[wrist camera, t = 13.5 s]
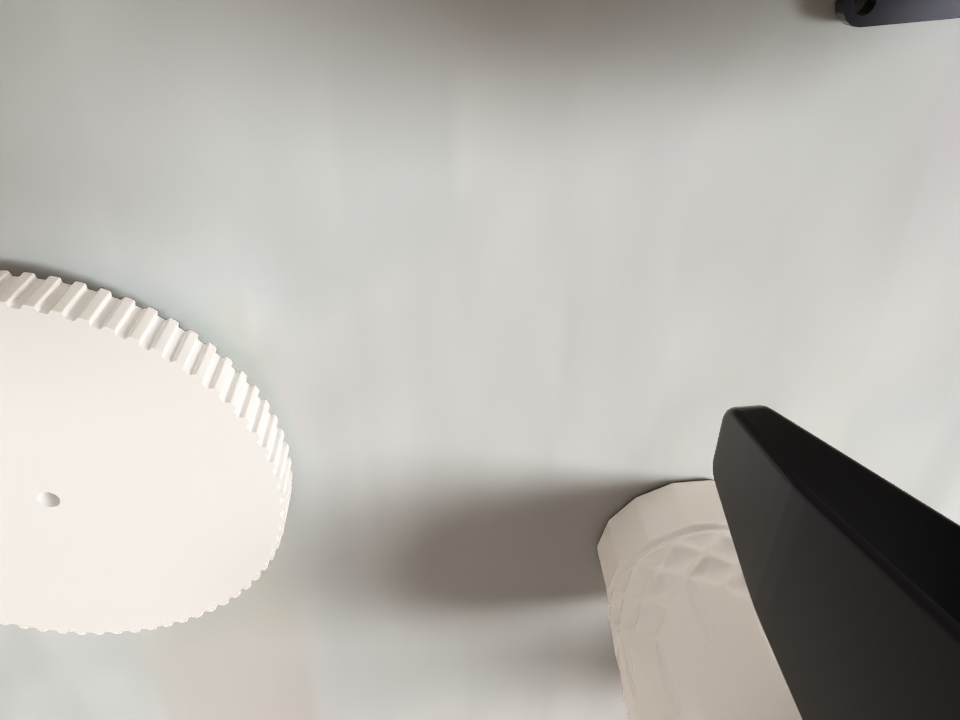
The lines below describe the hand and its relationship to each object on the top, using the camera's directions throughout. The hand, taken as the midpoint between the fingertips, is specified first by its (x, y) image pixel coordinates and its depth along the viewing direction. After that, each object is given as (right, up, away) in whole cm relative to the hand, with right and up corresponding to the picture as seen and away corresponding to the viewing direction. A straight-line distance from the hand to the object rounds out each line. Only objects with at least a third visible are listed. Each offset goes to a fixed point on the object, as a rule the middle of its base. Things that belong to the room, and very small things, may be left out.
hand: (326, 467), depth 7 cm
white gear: (-12, -1, +15) cm, 19 cm away
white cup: (+10, -6, +20) cm, 23 cm away
